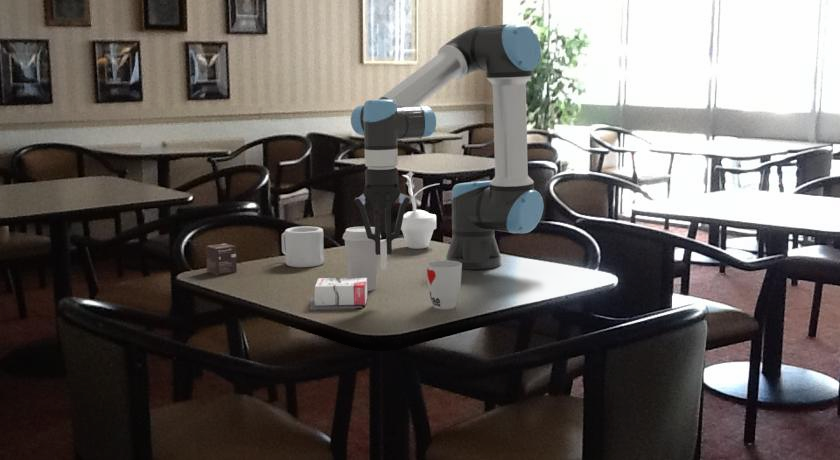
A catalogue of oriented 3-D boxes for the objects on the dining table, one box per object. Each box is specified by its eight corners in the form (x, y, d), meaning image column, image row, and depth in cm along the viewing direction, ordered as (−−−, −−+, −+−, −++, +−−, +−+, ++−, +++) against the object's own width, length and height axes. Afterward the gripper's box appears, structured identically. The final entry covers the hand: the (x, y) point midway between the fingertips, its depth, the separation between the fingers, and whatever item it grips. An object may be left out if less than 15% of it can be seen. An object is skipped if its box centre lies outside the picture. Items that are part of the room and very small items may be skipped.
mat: (361, 297, 231) (361, 296, 231) (362, 308, 220) (362, 307, 220) (311, 298, 230) (311, 297, 230) (309, 310, 219) (309, 309, 219)
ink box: (365, 285, 221) (313, 286, 221) (365, 306, 222) (314, 306, 222) (367, 276, 229) (317, 277, 229) (367, 296, 230) (317, 297, 230)
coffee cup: (353, 294, 234) (351, 233, 232) (338, 287, 242) (336, 228, 240) (388, 290, 238) (387, 230, 236) (372, 282, 247) (371, 224, 244)
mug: (331, 262, 274) (330, 227, 272) (307, 269, 265) (306, 233, 263) (294, 258, 281) (293, 224, 279) (270, 264, 272) (268, 229, 270)
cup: (425, 303, 225) (424, 260, 223) (459, 301, 225) (459, 259, 224) (428, 311, 217) (428, 268, 215) (464, 310, 217) (464, 266, 216)
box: (217, 275, 258) (216, 248, 257) (206, 272, 263) (205, 245, 261) (237, 272, 262) (236, 245, 261) (226, 269, 267) (224, 242, 265)
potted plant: (395, 250, 290) (394, 167, 286) (402, 243, 302) (401, 163, 297) (437, 251, 288) (436, 167, 284) (442, 244, 299) (442, 163, 295)
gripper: (409, 165, 225) (411, 264, 229) (353, 166, 224) (356, 265, 228) (410, 168, 218) (412, 270, 222) (352, 169, 217) (355, 272, 221)
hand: (384, 268), depth 225 cm, fingers closed
